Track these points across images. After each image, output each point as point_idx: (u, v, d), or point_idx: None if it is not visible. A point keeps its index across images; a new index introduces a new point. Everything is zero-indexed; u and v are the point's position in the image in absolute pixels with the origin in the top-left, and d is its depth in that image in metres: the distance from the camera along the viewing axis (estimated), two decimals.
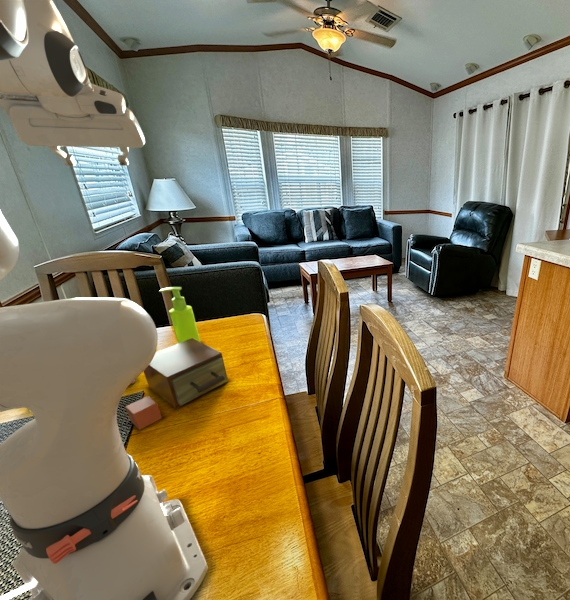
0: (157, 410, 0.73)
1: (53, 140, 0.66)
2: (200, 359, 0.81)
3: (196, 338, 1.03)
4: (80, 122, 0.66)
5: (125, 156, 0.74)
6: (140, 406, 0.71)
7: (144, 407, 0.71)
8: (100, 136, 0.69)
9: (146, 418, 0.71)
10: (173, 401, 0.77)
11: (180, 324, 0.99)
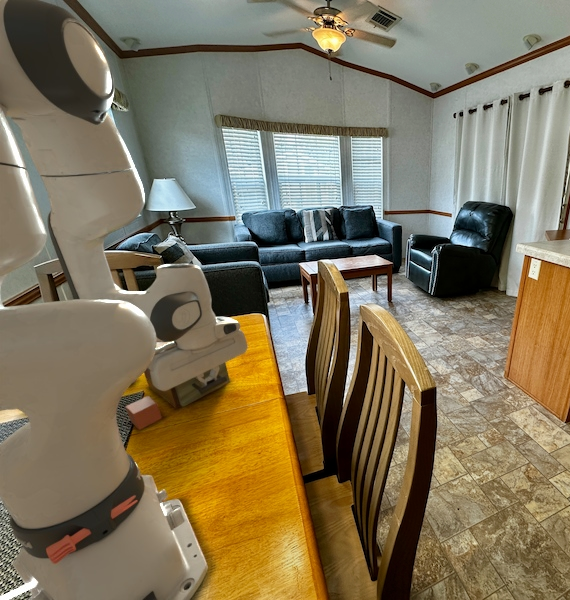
0: (157, 410, 0.73)
1: (185, 376, 0.71)
2: None
3: None
4: (206, 350, 0.74)
5: (216, 374, 0.78)
6: (140, 406, 0.71)
7: (144, 407, 0.71)
8: (219, 356, 0.77)
9: (146, 418, 0.71)
10: (173, 401, 0.77)
11: None
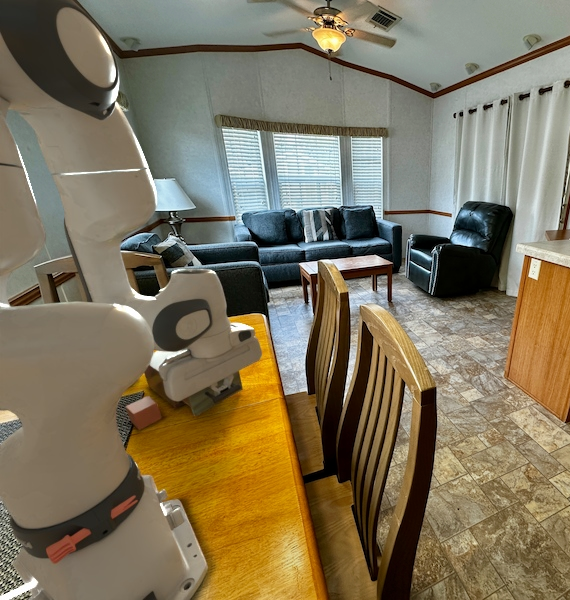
0: (157, 410, 0.73)
1: (199, 385, 0.68)
2: None
3: None
4: (220, 358, 0.71)
5: (230, 383, 0.75)
6: (140, 406, 0.71)
7: (144, 407, 0.71)
8: (233, 364, 0.74)
9: (146, 418, 0.71)
10: (173, 401, 0.77)
11: None
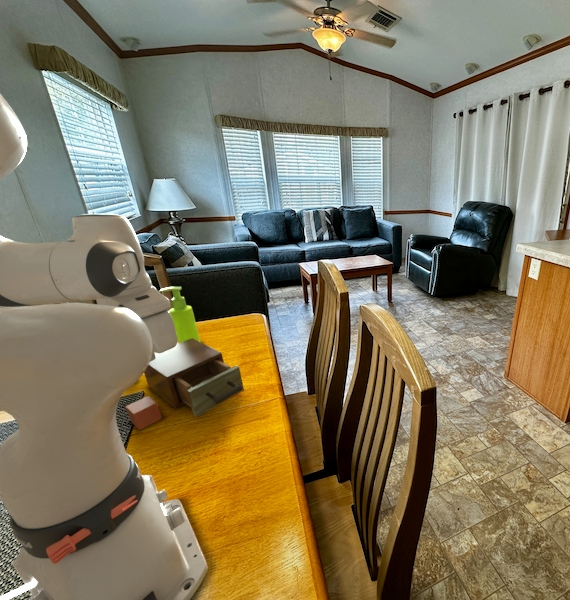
0: (157, 410, 0.73)
1: None
2: (200, 359, 0.81)
3: (196, 338, 1.03)
4: None
5: None
6: (140, 406, 0.71)
7: (144, 407, 0.71)
8: None
9: (146, 418, 0.71)
10: (173, 401, 0.77)
11: (180, 324, 0.99)
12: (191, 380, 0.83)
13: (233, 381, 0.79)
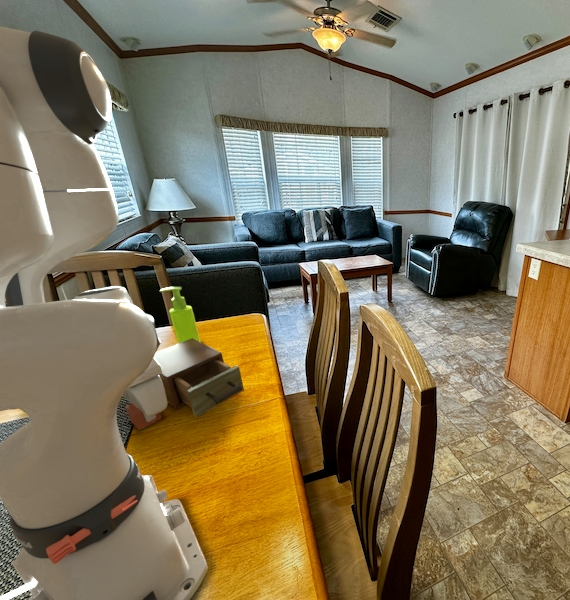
0: None
1: None
2: (200, 359, 0.81)
3: (196, 338, 1.03)
4: None
5: (144, 414, 0.69)
6: None
7: None
8: (130, 397, 0.68)
9: None
10: (173, 401, 0.77)
11: (180, 324, 0.99)
12: (191, 380, 0.83)
13: (233, 381, 0.79)
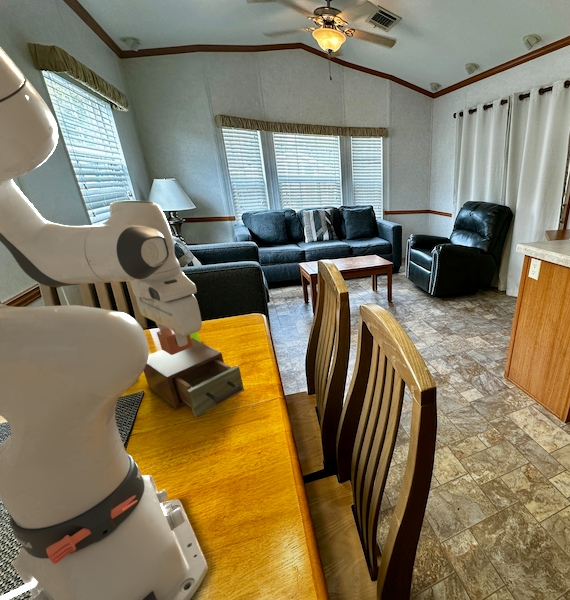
0: (188, 337, 0.72)
1: (148, 314, 0.71)
2: (200, 359, 0.81)
3: (196, 338, 1.03)
4: (156, 303, 0.67)
5: (176, 338, 0.69)
6: (172, 331, 0.71)
7: None
8: (164, 318, 0.67)
9: None
10: (173, 401, 0.77)
11: None
12: (191, 380, 0.83)
13: (233, 381, 0.79)
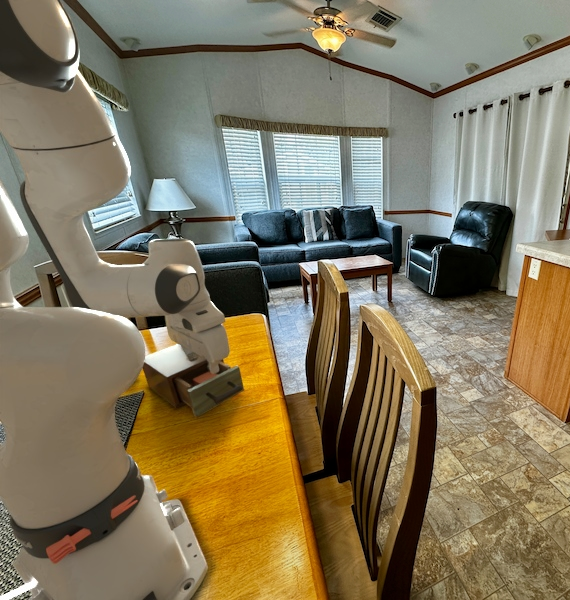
0: None
1: (178, 340, 0.75)
2: (200, 359, 0.81)
3: None
4: (187, 331, 0.71)
5: (209, 366, 0.72)
6: (206, 378, 0.77)
7: None
8: (194, 345, 0.71)
9: None
10: (173, 401, 0.77)
11: None
12: (191, 380, 0.83)
13: (233, 381, 0.79)
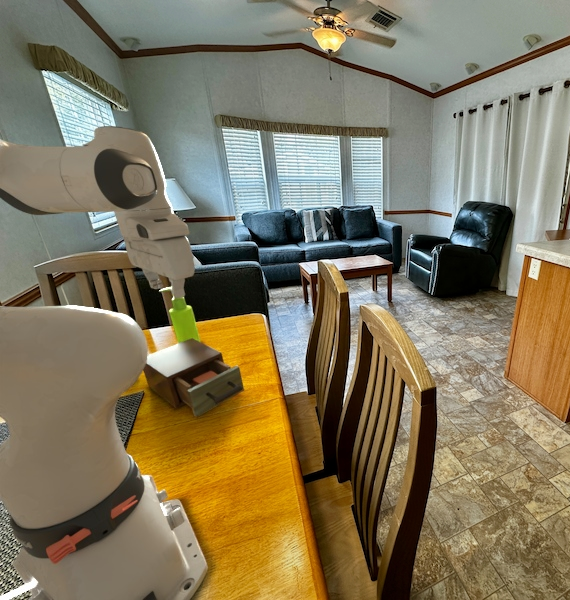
0: None
1: (138, 262, 0.66)
2: (200, 359, 0.81)
3: (196, 338, 1.03)
4: (146, 247, 0.62)
5: (172, 287, 0.63)
6: (206, 378, 0.77)
7: None
8: (154, 262, 0.62)
9: None
10: (173, 401, 0.77)
11: (180, 324, 0.99)
12: (191, 380, 0.83)
13: (233, 381, 0.79)
